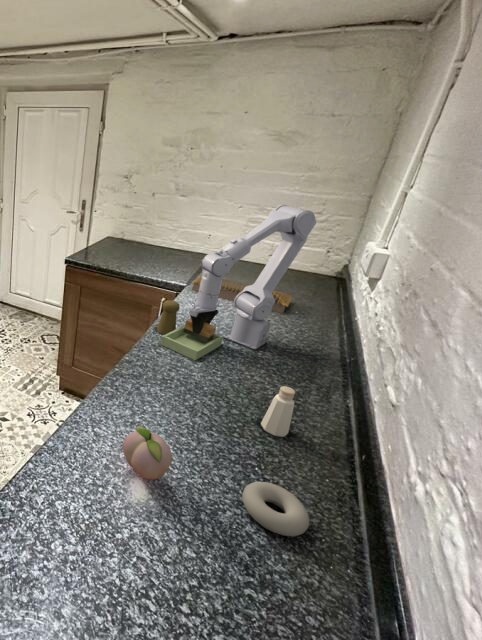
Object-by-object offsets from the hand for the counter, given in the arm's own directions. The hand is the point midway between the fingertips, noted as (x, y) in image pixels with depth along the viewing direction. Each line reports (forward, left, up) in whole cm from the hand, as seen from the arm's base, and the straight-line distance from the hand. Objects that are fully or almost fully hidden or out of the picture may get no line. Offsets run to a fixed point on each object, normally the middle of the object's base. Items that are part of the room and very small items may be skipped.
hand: (199, 330), depth 128 cm
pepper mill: (+10, +2, -4) cm, 11 cm away
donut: (-41, +50, -4) cm, 65 cm away
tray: (0, +4, -4) cm, 6 cm away
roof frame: (+10, -52, -4) cm, 53 cm away
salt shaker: (-32, +25, -4) cm, 41 cm away
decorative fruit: (-22, +61, -4) cm, 65 cm away
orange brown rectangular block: (0, 0, -2) cm, 2 cm away
